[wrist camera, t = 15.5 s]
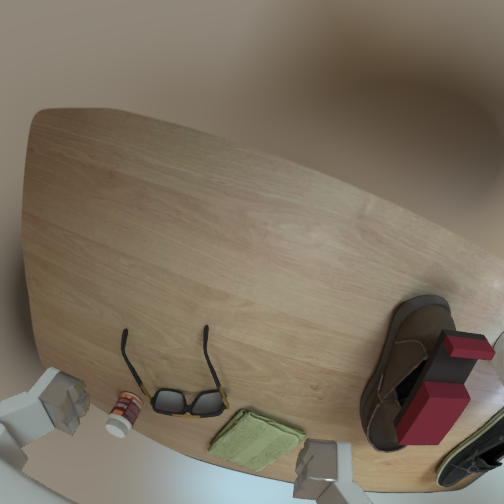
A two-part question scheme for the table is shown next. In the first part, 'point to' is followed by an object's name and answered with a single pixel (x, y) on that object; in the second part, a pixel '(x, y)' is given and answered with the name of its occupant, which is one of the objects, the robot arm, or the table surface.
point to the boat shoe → (474, 453)
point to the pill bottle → (124, 414)
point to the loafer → (402, 366)
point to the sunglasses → (175, 400)
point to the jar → (499, 358)
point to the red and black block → (441, 388)
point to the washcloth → (254, 441)
